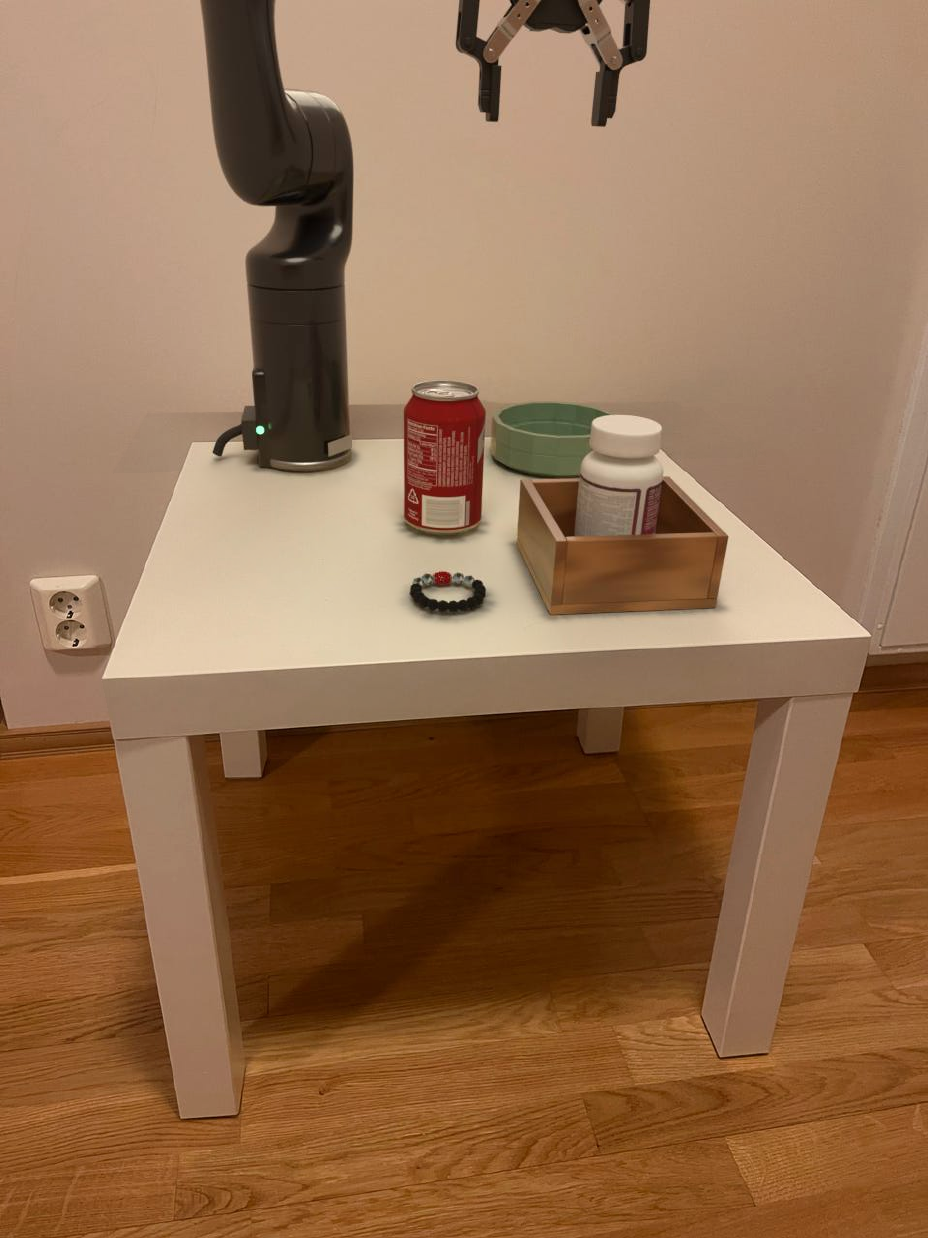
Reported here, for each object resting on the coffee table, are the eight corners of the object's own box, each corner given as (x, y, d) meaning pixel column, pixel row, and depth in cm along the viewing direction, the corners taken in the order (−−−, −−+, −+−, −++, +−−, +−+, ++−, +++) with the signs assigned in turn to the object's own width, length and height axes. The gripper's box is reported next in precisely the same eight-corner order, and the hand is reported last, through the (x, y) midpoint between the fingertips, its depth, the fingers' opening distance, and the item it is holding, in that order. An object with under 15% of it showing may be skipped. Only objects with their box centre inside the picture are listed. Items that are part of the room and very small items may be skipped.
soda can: (472, 544, 76) (478, 402, 70) (395, 535, 77) (394, 395, 72) (487, 514, 82) (493, 381, 76) (414, 507, 83) (415, 375, 77)
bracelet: (479, 578, 70) (479, 567, 70) (492, 613, 65) (493, 601, 65) (405, 582, 69) (405, 570, 69) (414, 617, 64) (414, 604, 64)
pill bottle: (625, 545, 75) (642, 409, 70) (665, 576, 70) (686, 432, 64) (558, 553, 73) (570, 415, 68) (593, 586, 68) (609, 439, 63)
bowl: (504, 482, 90) (506, 438, 88) (482, 441, 101) (484, 401, 99) (632, 479, 92) (637, 436, 89) (597, 439, 103) (601, 400, 101)
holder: (550, 615, 65) (556, 541, 63) (516, 544, 76) (520, 478, 74) (716, 608, 67) (729, 535, 64) (660, 540, 78) (669, 475, 75)
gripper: (647, -121, 67) (619, 127, 75) (457, -138, 65) (449, 119, 73) (681, -146, 61) (647, 129, 69) (471, -165, 59) (461, 120, 67)
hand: (545, 123), depth 71 cm, fingers open, 8 cm apart
